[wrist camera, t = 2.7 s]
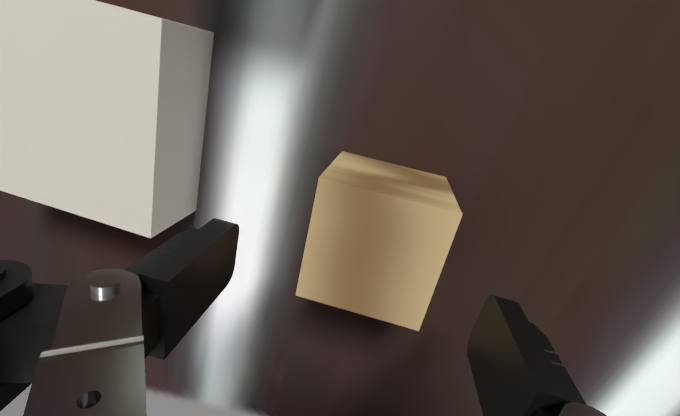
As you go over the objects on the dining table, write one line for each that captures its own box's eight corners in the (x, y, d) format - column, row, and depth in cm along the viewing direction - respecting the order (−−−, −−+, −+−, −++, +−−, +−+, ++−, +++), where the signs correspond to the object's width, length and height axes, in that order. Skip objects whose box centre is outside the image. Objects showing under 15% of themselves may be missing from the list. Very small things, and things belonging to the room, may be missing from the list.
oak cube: (445, 176, 16) (462, 214, 12) (414, 267, 18) (418, 331, 14) (342, 150, 17) (319, 177, 12) (322, 241, 19) (295, 295, 14)
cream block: (217, 33, 16) (162, 18, 12) (199, 208, 19) (150, 238, 16) (42, -14, 17) (-61, -42, 13) (53, 163, 20) (-26, 182, 16)
